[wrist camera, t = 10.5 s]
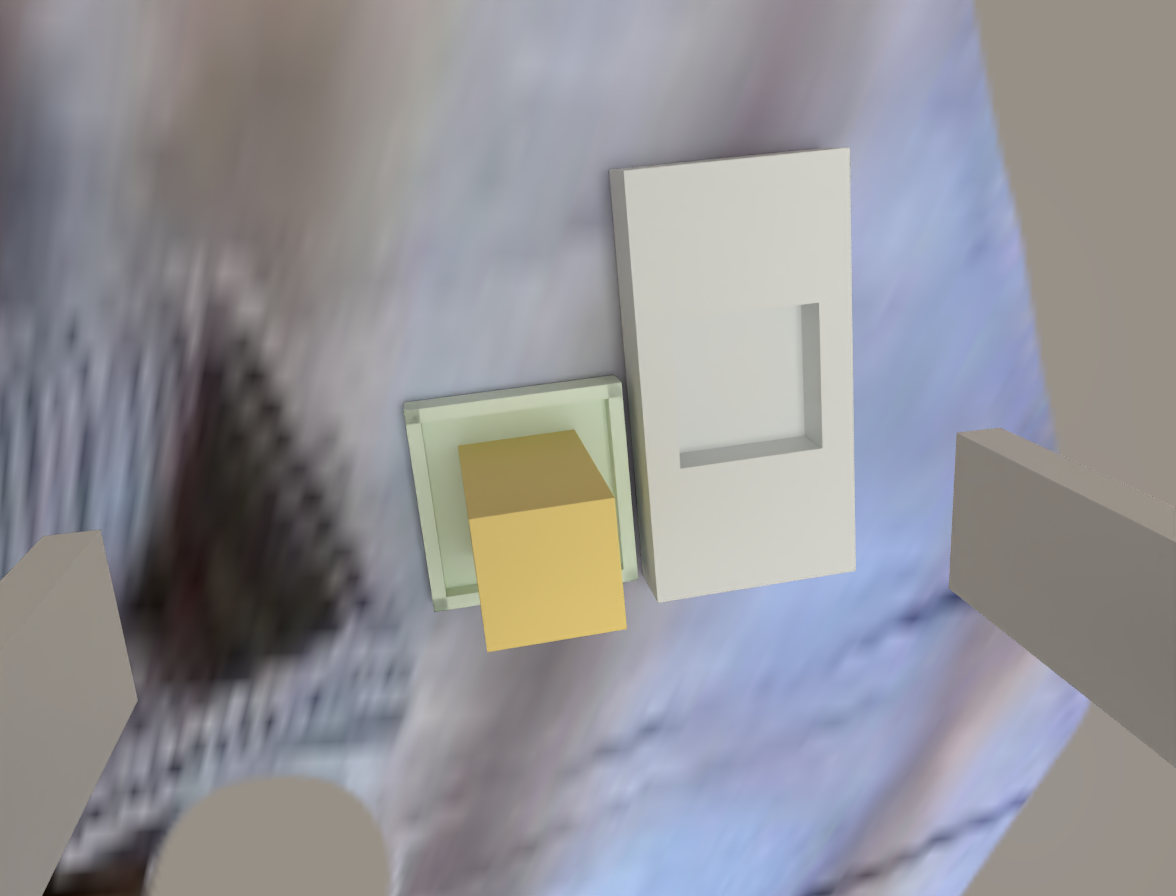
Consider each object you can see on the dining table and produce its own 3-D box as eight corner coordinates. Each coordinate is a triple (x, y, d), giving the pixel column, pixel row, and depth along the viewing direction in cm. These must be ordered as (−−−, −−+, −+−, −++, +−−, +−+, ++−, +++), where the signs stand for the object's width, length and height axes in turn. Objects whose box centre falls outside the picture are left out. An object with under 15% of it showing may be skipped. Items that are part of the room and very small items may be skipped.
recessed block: (642, 574, 46) (657, 602, 43) (608, 169, 40) (623, 170, 37) (828, 545, 47) (855, 570, 44) (819, 148, 41) (849, 147, 39)
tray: (433, 597, 44) (434, 612, 43) (403, 402, 41) (403, 410, 40) (631, 566, 45) (638, 579, 44) (614, 375, 43) (621, 382, 41)
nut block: (473, 554, 43) (487, 651, 35) (457, 445, 42) (468, 519, 33) (585, 537, 44) (626, 629, 35) (574, 429, 42) (614, 498, 34)
